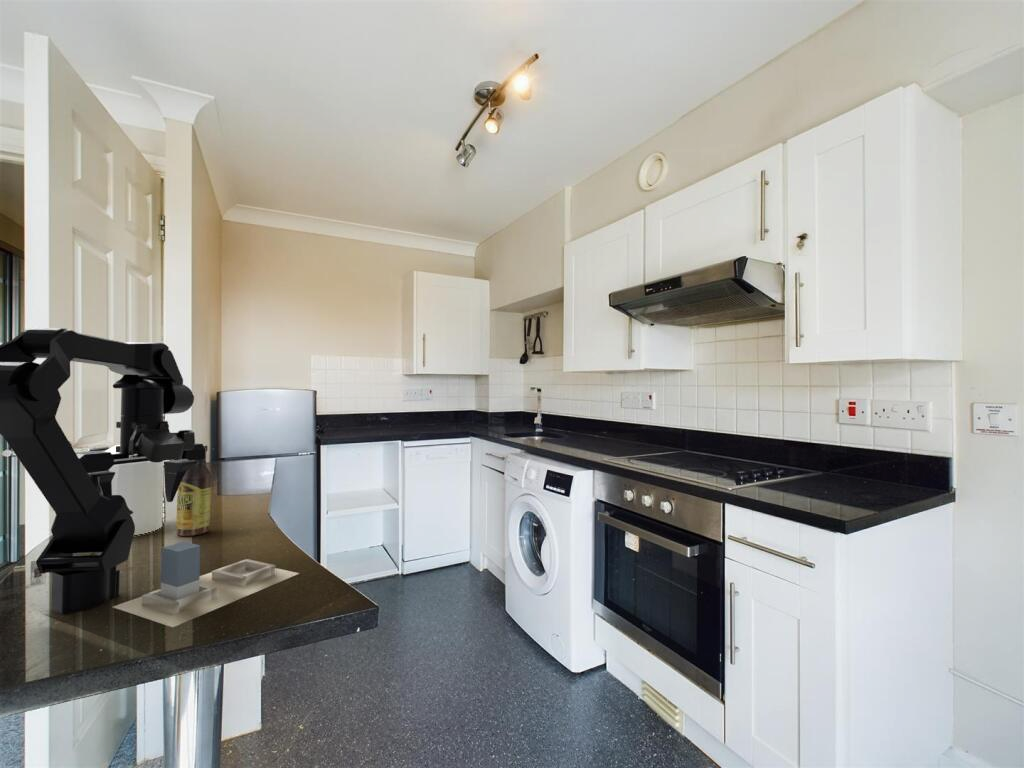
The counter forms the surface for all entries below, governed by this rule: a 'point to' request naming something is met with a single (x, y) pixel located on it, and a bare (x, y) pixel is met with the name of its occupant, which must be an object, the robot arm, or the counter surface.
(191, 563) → the plug
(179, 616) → the socket dock
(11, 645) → the counter surface
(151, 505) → the container
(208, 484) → the sauce bottle
